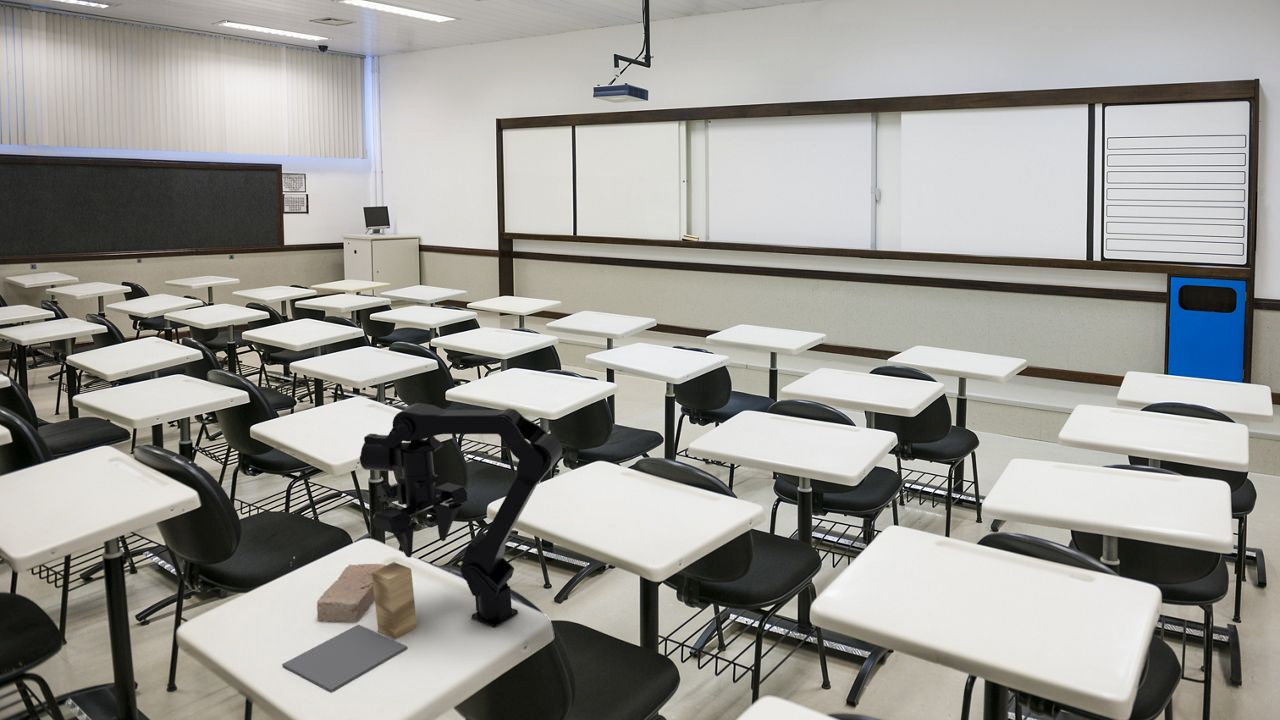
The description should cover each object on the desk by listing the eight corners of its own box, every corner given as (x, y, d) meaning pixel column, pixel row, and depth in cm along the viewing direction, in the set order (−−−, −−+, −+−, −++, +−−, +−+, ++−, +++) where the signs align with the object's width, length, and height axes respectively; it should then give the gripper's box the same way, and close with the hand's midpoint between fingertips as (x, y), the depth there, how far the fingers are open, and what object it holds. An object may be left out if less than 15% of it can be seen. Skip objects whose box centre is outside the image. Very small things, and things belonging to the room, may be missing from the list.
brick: (357, 624, 173) (355, 601, 172) (315, 623, 174) (313, 600, 173) (390, 583, 189) (388, 563, 188) (351, 583, 190) (349, 562, 189)
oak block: (417, 626, 171) (411, 568, 168) (395, 639, 167) (389, 579, 164) (400, 619, 174) (394, 561, 171) (378, 631, 170) (371, 572, 167)
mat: (407, 648, 163) (407, 646, 163) (331, 692, 151) (331, 689, 151) (358, 626, 171) (358, 624, 171) (282, 666, 159) (282, 664, 159)
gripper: (427, 450, 182) (434, 522, 186) (349, 479, 167) (358, 557, 171) (466, 459, 176) (472, 534, 179) (389, 490, 161) (397, 571, 165)
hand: (425, 548), depth 174 cm, fingers open, 8 cm apart
